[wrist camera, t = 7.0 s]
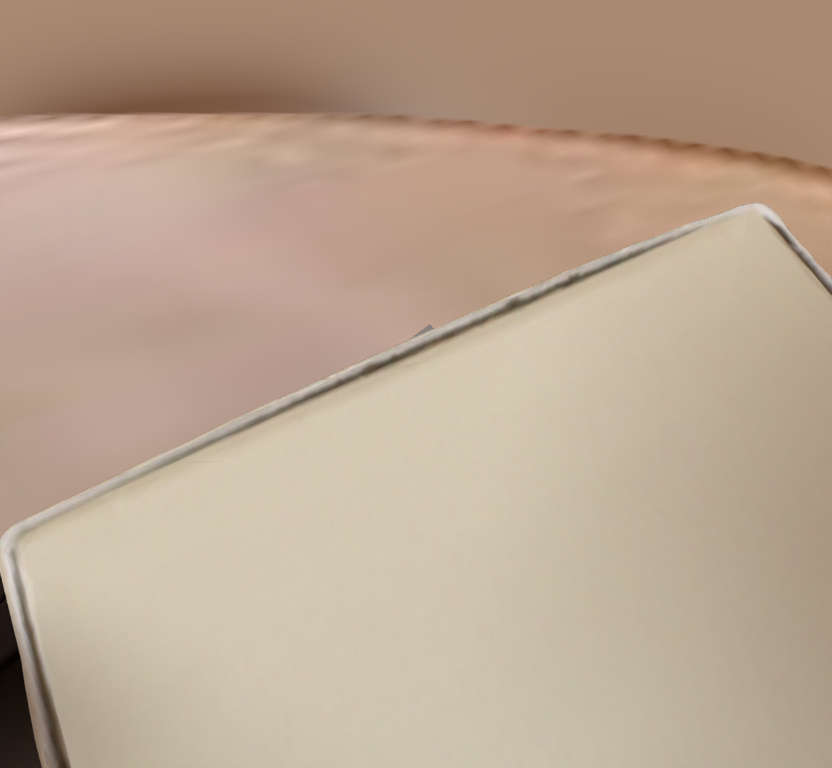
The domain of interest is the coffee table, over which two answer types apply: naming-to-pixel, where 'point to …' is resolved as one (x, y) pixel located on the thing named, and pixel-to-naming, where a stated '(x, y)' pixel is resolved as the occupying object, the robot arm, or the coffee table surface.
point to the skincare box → (476, 543)
